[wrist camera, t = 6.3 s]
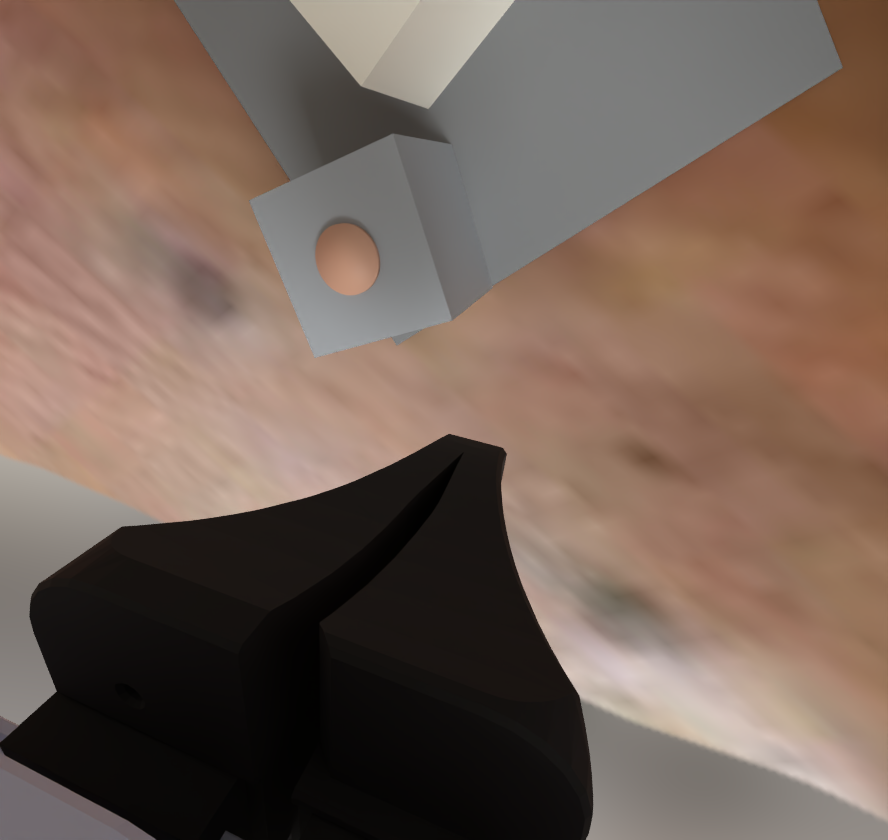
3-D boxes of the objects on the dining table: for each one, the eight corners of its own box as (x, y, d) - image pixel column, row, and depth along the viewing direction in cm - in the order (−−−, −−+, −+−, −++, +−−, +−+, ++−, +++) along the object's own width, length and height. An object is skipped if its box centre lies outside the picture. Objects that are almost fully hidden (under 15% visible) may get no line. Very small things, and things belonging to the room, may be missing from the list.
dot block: (451, 143, 17) (389, 132, 13) (492, 287, 19) (450, 322, 14) (333, 195, 19) (244, 200, 15) (379, 320, 21) (311, 359, 16)
